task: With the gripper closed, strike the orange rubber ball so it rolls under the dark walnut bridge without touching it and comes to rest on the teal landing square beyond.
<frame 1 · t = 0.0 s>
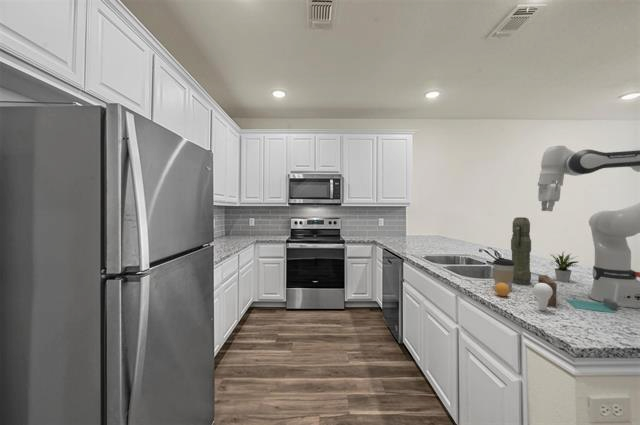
hand: (546, 211, 134), 39 cm above the countertop, tool pointing down, fingers open, 8 cm apart
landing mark: (588, 305, 118), on the countertop
house plant: (560, 281, 156), on the countertop
coffee cup: (503, 289, 142), on the countertop
ball: (502, 289, 131), on the countertop
thermos: (520, 283, 153), on the countertop
bridge: (546, 300, 124), on the countertop
lightbulb: (542, 311, 113), on the countertop
stopper wall: (610, 308, 115), on the countertop
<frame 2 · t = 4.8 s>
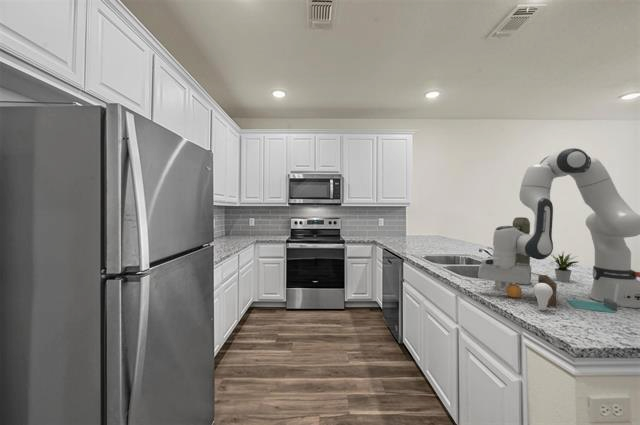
hand: (502, 291, 131), 2 cm above the countertop, tool pointing down, fingers closed
ball: (513, 290, 129), on the countertop, touching gripper
everything else where it was.
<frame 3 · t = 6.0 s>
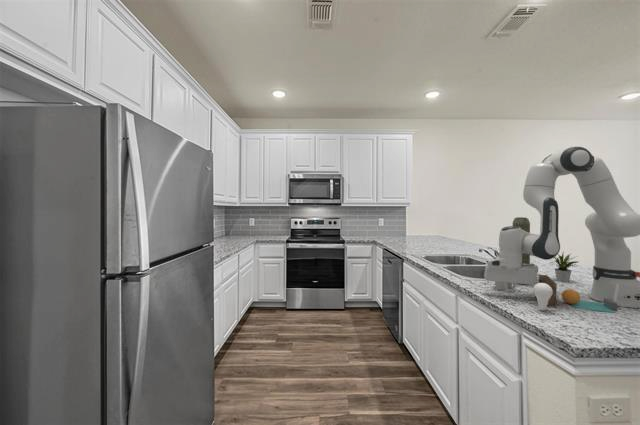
hand: (509, 292, 130), 2 cm above the countertop, tool pointing down, fingers closed
ball: (570, 296, 121), on the countertop
everything else where it was.
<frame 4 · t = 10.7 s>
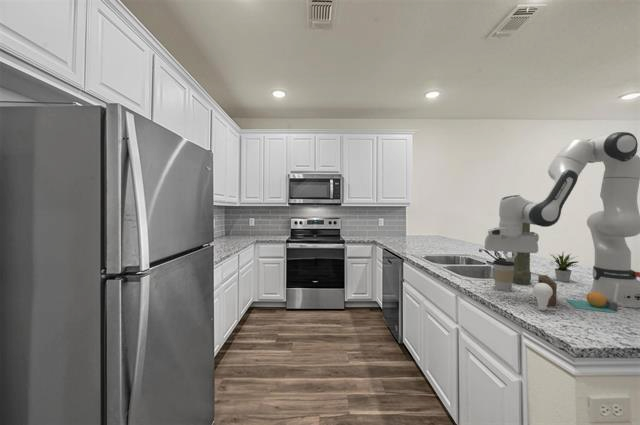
hand: (510, 261, 130), 16 cm above the countertop, tool pointing down, fingers closed
ball: (596, 299, 117), on the countertop
everything else where it was.
at the end: ball 2.3 cm from the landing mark (horizontally); ball never touched bridge; ball at rest at the end (0.0 cm/s) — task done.
